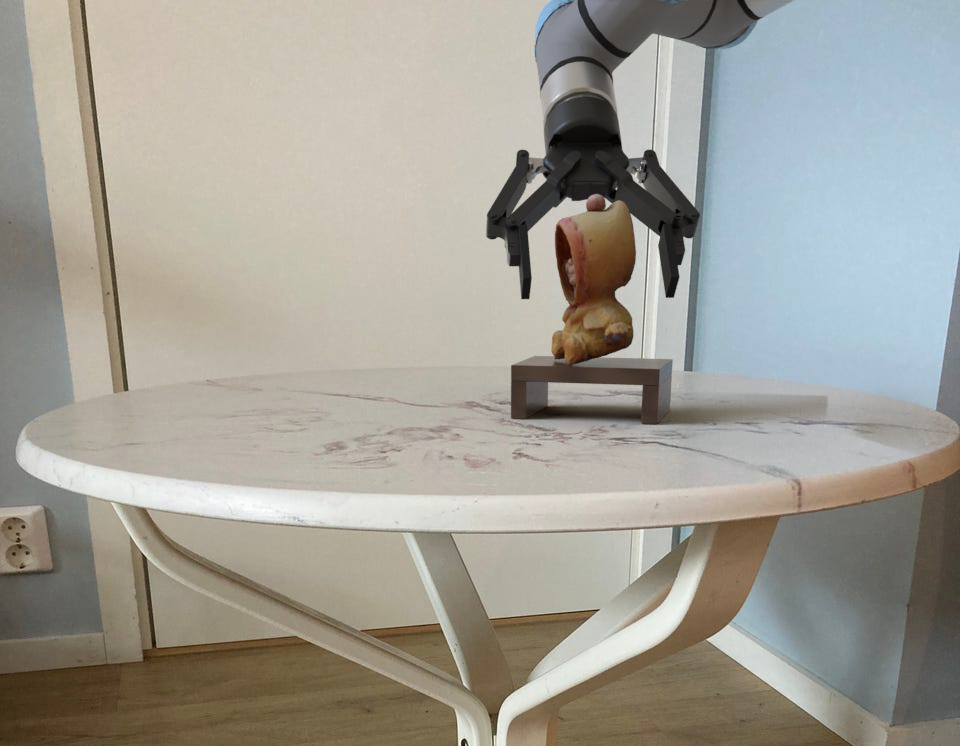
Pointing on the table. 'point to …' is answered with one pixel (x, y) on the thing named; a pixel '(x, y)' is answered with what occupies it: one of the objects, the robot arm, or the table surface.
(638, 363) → the shelf
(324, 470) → the table surface
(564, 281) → the figurine
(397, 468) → the table surface
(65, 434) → the table surface
